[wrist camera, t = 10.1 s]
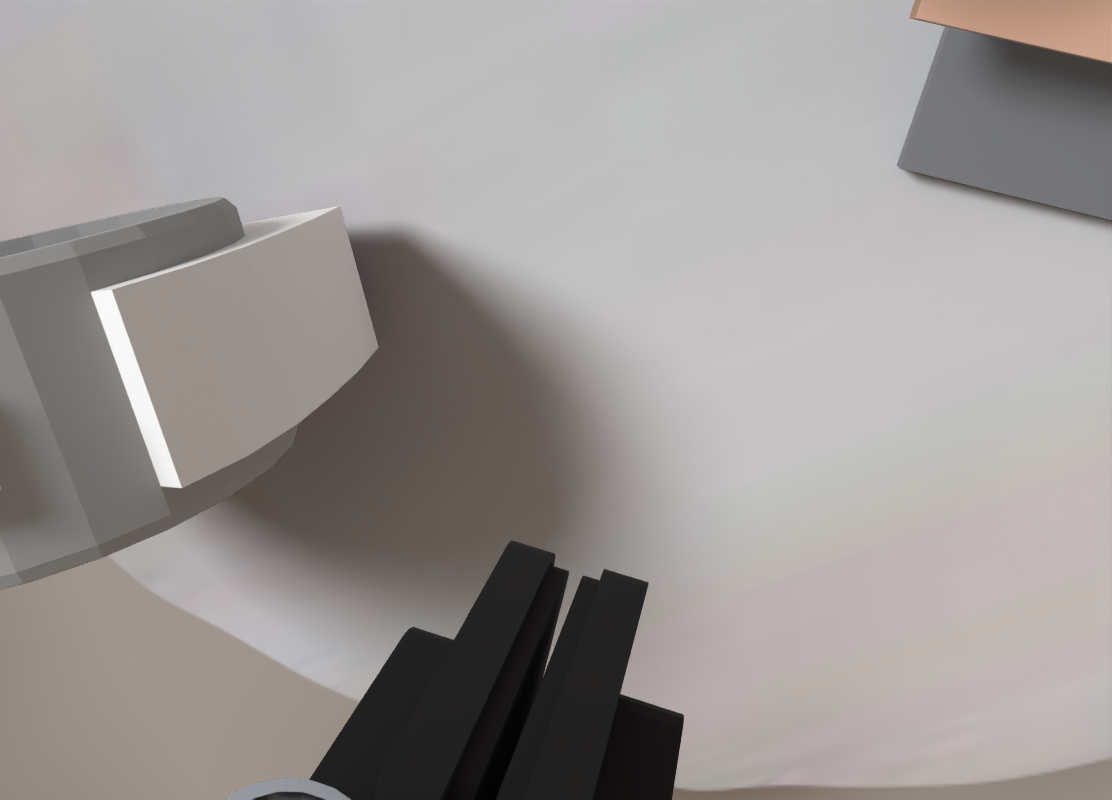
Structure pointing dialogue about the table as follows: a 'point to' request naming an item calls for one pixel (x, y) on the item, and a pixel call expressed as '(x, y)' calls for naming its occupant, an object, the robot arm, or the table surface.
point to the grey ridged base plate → (1016, 122)
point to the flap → (1030, 22)
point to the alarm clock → (161, 369)
